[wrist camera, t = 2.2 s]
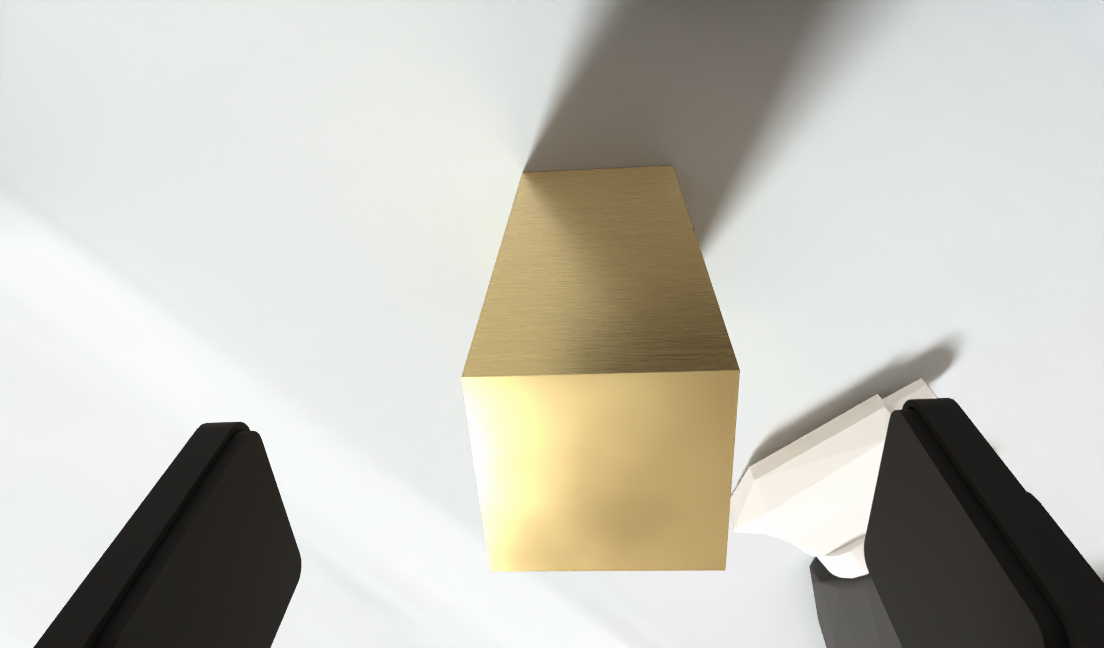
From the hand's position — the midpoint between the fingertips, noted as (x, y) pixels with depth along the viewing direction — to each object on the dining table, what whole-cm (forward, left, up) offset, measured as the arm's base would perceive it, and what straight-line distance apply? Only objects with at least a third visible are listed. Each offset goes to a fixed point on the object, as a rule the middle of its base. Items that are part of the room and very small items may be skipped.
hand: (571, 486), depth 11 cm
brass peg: (0, 0, -10) cm, 10 cm away
